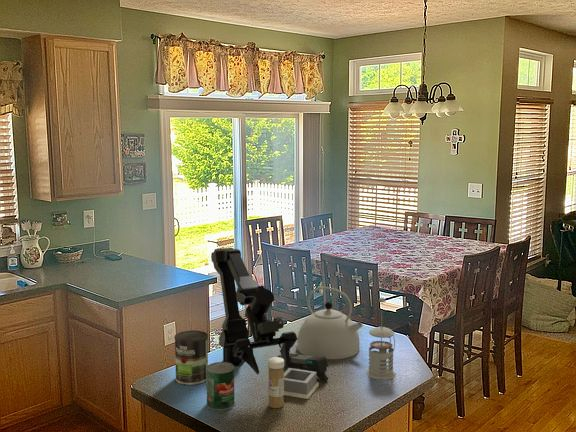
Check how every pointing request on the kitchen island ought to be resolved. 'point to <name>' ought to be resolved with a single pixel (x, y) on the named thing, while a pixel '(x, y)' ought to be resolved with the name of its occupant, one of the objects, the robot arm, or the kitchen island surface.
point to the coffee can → (191, 357)
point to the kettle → (329, 332)
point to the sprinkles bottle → (276, 382)
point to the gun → (309, 364)
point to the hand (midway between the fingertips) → (273, 370)
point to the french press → (381, 353)
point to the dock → (300, 383)
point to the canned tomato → (220, 385)
